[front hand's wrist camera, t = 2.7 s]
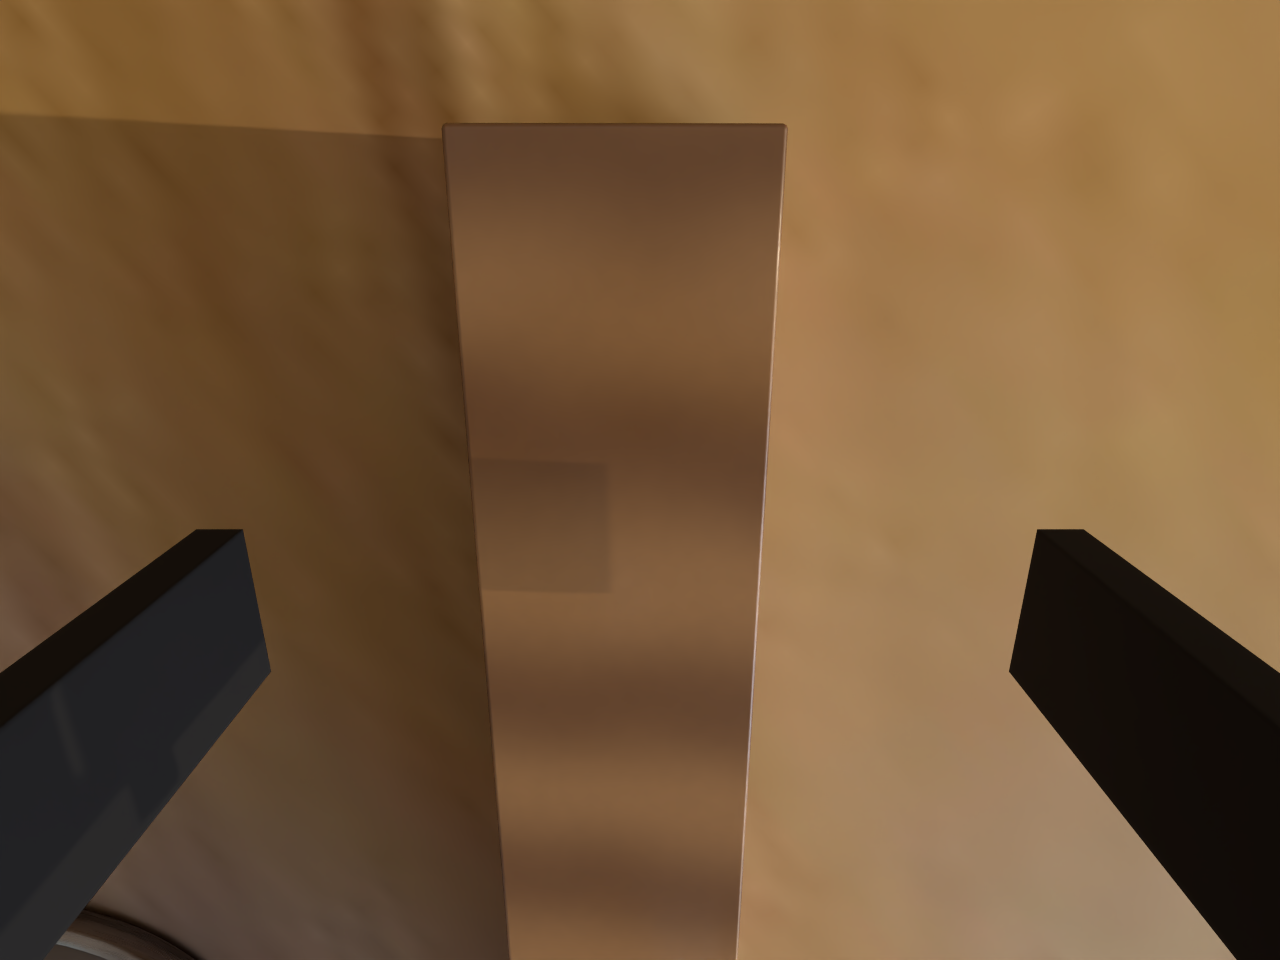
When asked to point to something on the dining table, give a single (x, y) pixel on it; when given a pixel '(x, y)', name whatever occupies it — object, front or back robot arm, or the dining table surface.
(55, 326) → the dining table surface
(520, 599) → the beam
